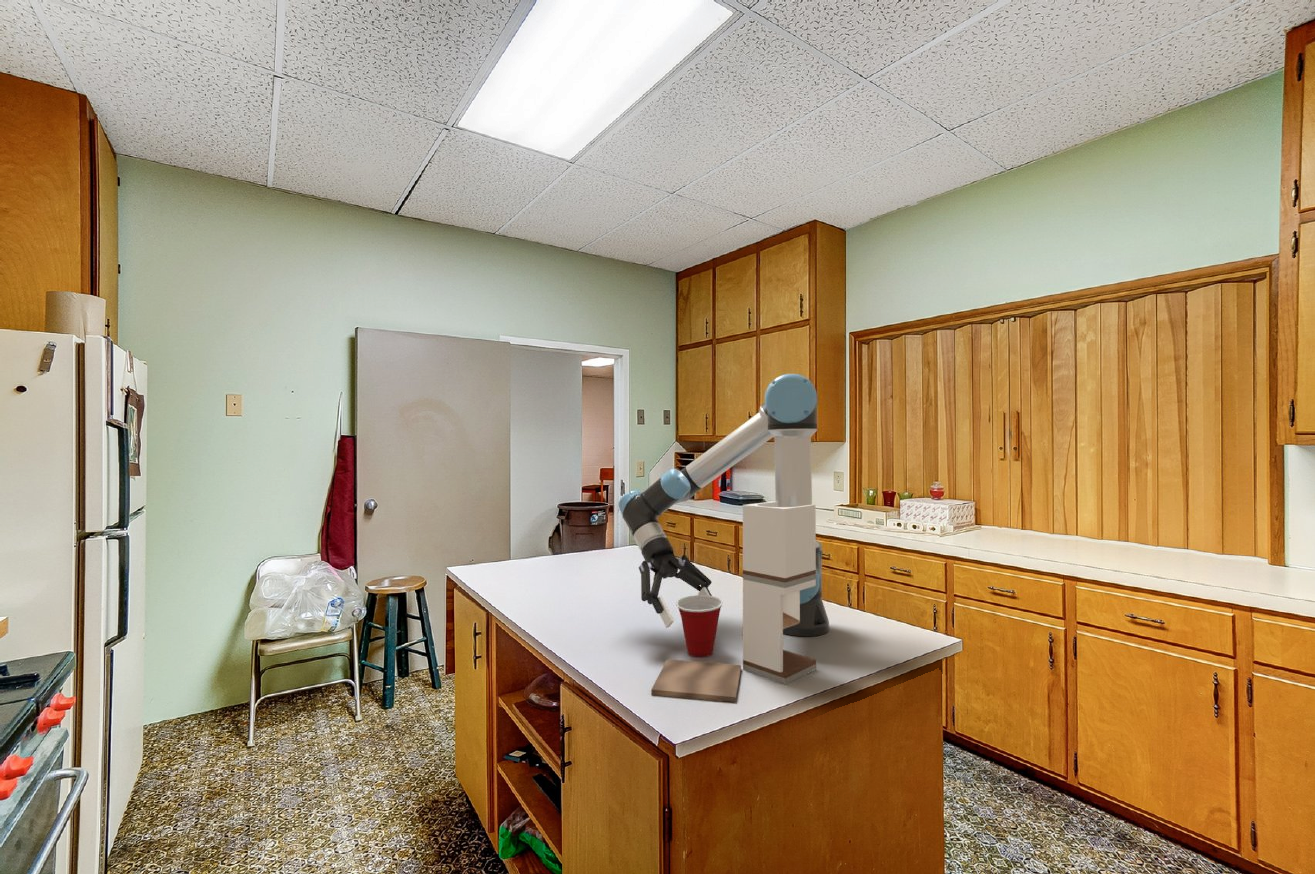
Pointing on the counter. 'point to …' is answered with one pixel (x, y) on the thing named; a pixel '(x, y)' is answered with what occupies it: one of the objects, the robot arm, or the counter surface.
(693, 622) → the plastic cup
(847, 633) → the counter surface
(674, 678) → the walnut board
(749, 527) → the white dispenser
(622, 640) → the counter surface
